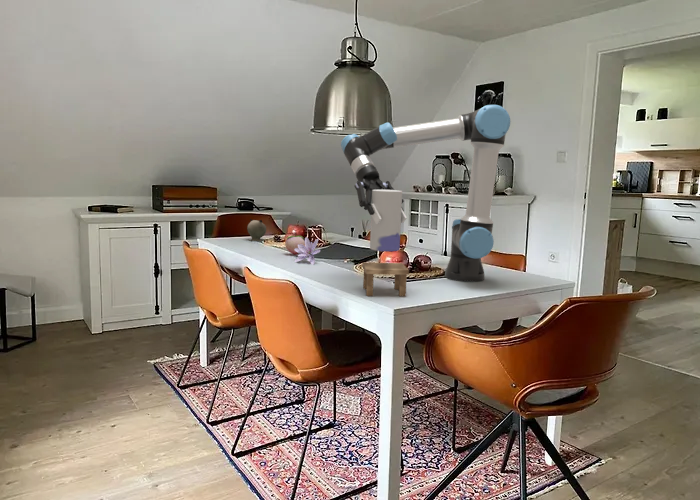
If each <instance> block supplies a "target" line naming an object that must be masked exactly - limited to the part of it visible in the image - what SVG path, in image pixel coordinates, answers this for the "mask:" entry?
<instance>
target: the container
mask: <svg viewBox="0 0 700 500" xmlns="http://www.w3.org/2000/svg"><path fill="white" fill-rule="evenodd" d="M402 199H403V190H398V189H397V190H396V189H394V190H383V189H382V190H372V200H371V204H374V205H375V207H376V209H377V211H378V213H379V215H380V217H381V221H380V222H379V223H378V224H376V223H375V221H374V219H373V217H372V215H370V234H369V235H370V238H369V239H370V240H369V250H371V251H376V252H398V251H400V249H401V248H400V244H401V227H402V225H401V224H402V223H401V208H403V205H402V204H403V203H402Z"/></svg>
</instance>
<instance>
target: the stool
mask: <svg viewBox="0 0 700 500" xmlns="http://www.w3.org/2000/svg"><path fill="white" fill-rule="evenodd" d="M361 264H362V269H363V282H362V283H363V287H362V288H363V290H366V291H365V292H366V293H365V294H366V295H365V296H366V297H373V296H374V275H394V281H393V282H394V286H393V288H394V290H396V291H398V296H399V297H406V296H407V277H408V276H409V273H410V270H409V269H408V268H407V266H406V265H405V264H403V262H362V263H361Z"/></svg>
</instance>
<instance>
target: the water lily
mask: <svg viewBox="0 0 700 500" xmlns="http://www.w3.org/2000/svg"><path fill="white" fill-rule="evenodd" d="M304 242H305V246H304V245H302V244H298V248H295V249H294V250H295V251H296V252H298V254H297V258H296V259H294V261H293V263H297V262H301V261H303V260H305V259H306V258H307V261H308V262H309V263H310V264H311V265H313V266H314V265H315V263H316V261H315V256H314V255H316V254H317V255H318V254H319V253H320V252H321V249H316V247H317V245H318V243H319V238H317V239H315V240H314V242H313V241H310V240H309V238H308V237H307V236H306V237H305V238H304Z"/></svg>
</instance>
